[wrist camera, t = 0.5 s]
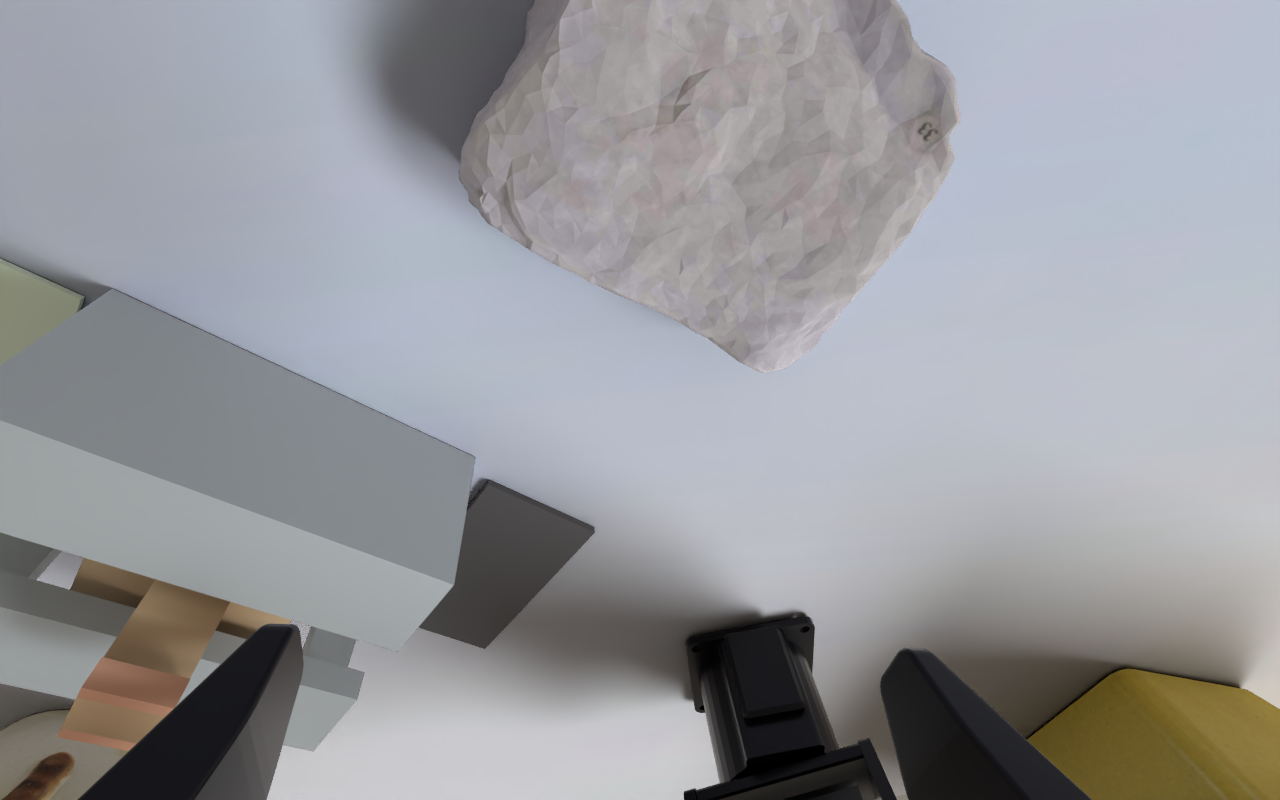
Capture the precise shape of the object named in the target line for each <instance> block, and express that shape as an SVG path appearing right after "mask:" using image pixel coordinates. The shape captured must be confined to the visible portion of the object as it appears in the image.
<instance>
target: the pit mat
mask: <svg viewBox="0 0 1280 800" xmlns="http://www.w3.org/2000/svg"><path fill="white" fill-rule="evenodd" d="M594 533H595V531H594V527H592V526H590V525H588V524H585V523H583V522H581V521H579V520H577V519H574V518H572V517H570V516H568V515H566V514H563V513H561V512H559V511H557V510H555V509H552V508H550V507H548V506H546V505H544V504H541V503H539V502H537V501H535V500H532V499H530V498H528V497H526V496H524V495H521V494H519V493H517V492H515V491H513V490H510V489H508V488H506V487H504V486H502V485H499V484H497V483H495V482H493V481H491V480H488V482H487V483H486V484H485V485H484V487H483V488H482V489H481V491H480V492H479V493H478V494H477V496H476V497H475V498H474V499H473V501H472V502H471V503H470V504H469V506H468V507H467V511H466V517H465V523H464V529H463V535H462V541H461V547H460V553H459V559H458V565H457V570H456V576H455V582H454V586H453V587H452V588H451V589H450V590H449V592H448V593H447V594H446V595H445V596H444V597H443V599H442V600H441V601H440V602H439V603H438V605H437V606H436V607H435V608H434V609H433V610H432V612H431V613H430V614H429V615H428V616H427V618H426V619H425V620H424V621H423V622H422V623H421V625H420V626H419V628H422V629H425V630H428V631H431V632H435V633H438V634H441V635H444V636H447V637H450V638H453V639H456V640H459V641H462V642H466V643H469V644H472V645H475V646H478V647H481V648H484V649H485V648H486V647H487V646H488V645H489V644H490V643H491V642H492V641H493V640H494V639H495V638H496V636H497V635H498V634H499V633H500V632H501V631H502V630H503V629H504V628H505V627H506V626H507V625H508V624H509V623H510V622H511V621H512V620H513V618H514V617H515V616H516V615H517V614H518V613H519V612H520V611H521V610H522V609H523V608H524V607H525V606H526V605H527V604H528V603H529V602H530V600H531V599H532V598H533V597H534V596H535V595H536V594H537V593H538V592H539V591H540V590H541V589H542V588H543V587H544V586H545V585H546V584H547V582H548V581H549V580H550V579H551V578H552V577H553V576H554V575H555V574H556V573H557V572H558V571H559V570H560V569H561V568H562V567H563V566H564V565H565V563H566V562H567V561H568V560H569V559H570V558H571V557H572V556H573V555H574V554H575V553H576V552H577V551H578V550H579V549H580V548H581V547H582V545H583V544H584V543H585V542H586V541H587V540H588V539H589V538H590V537H591V536H592V535H593V534H594Z"/></svg>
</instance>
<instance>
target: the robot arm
mask: <svg viewBox="0 0 1280 800" xmlns="http://www.w3.org/2000/svg"><path fill="white" fill-rule="evenodd" d="M814 630H815V627H814V624H813V622H812V619H811V618H810V617H806V616H805V617H798V618H792V619H786V620H781V621H775V622H770V623H764V624H759V625H753V626H748V627H742V628H737V629H731V630H725V631H720V632H714V633H709V634H703V635H698V636H693V637H690V638H689V639H687V641H686V643H685V645H686V652H687V658H688V665H689V672H690V679H691V686H692V693H693V700H694V706H695V710H696V711H697V712H699V713H706V718H707V723H708V728H709V732H710V737H711V742H712V747H713V752H714V757H715V761H716V766H717V771H718V776H719V781H720V784H716V785H713V786H709V787H706V788H702V789H699V790H696V789H695V788H694V789H691V790H687V791H684V800H897V799H896V797H895V795H894V792H893V790H892V788H891V786H890V783H889V781H888V779H887V777H886V774H885V772H884V770H883V768H882V765H881V763H880V761H879V759H878V757H877V754H876V752H875V750H874V748H873V745H872V743H871V741H870V739H869V738H866V739H863V740H860V741H858V744H854V745H851V746H847V747H844V748H840V749H839V746H838V743H837V741H836V738H835V735H834V732H833V730H832V727H831V724H830V722H829V719H828V716H827V714H826V711H825V708H824V706H823V703H822V700H821V698H820V695H819V692H818V689H817V687H816V684H815V681H814V679H813V676H812V666H813V648H814ZM303 667H304V660H303V652H302V645H301V637H300V631H299V628H298V627H297V626H296V625H294V624H272V623H270V624H265V625H263V626H261V627H260V628H259V629H257V630H256V631H255V632H254V633H253V634H252V635H251V636H250V637H249V638H248V639H247V640H246V641H245V642H244V643H243V644H241V645H240V646H239V647H238V648H237V649H236V650H235V651H234V652H233V653H232V654H231V655H230V656H229V657H228V658H227V659H226V660H225V661H224V662H222V663H221V664H220V665H219V666H218V667H217V668H216V669H215V670H214V671H213V672H212V673H211V674H210V675H209V676H208V677H207V678H206V679H204V680H203V681H202V682H201V683H200V684H199V685H198V686H197V687H196V688H195V689H194V690H193V691H192V692H191V693H190V694H189V695H188V696H186V697H185V698H184V699H183V700H182V701H181V702H180V703H179V704H178V705H177V706H176V707H175V708H174V709H173V710H172V711H171V712H170V713H168V714H167V715H166V716H165V717H164V718H163V719H162V720H161V721H160V722H159V723H158V724H157V725H156V726H155V727H154V728H153V729H152V730H150V731H149V732H148V733H147V734H146V735H145V736H144V737H143V738H142V739H141V740H140V741H139V742H138V743H137V744H136V745H135V746H134V747H132V748H131V749H130V750H129V751H128V752H127V753H126V754H125V755H124V756H123V757H122V758H121V759H120V760H119V761H118V762H117V763H116V764H114V765H113V766H112V767H111V768H110V769H109V770H108V771H107V772H106V773H105V774H104V775H103V776H102V777H101V778H100V779H99V780H98V781H96V782H95V783H94V784H93V785H92V786H91V787H90V788H89V789H88V790H87V791H86V792H85V793H84V794H83V795H82V796H81V797H80V798H78V799H77V800H266V799H267V796H268V793H269V789H270V786H271V783H272V780H273V776H274V773H275V769H276V766H277V762H278V759H279V756H280V752H281V749H282V745H283V742H284V738H285V735H286V731H287V728H288V724H289V721H290V717H291V714H292V710H293V707H294V703H295V700H296V696H297V693H298V689H299V686H300V682H301V679H302V674H303ZM880 688H881V695H882V699H883V703H884V707H885V711H886V715H887V719H888V723H889V727H890V731H891V735H892V739H893V743H894V747H895V751H896V755H897V759H898V763H899V767H900V772H901V775H902V779H903V783H904V786H905V790H906V793H907V796H908V799H909V800H1092V799H1091V798H1090V797H1089V796H1088V795H1087V794H1085V793H1084V792H1083V791H1082V790H1081V789H1080V788H1079V787H1078V786H1077V785H1076V784H1075V783H1073V782H1072V781H1071V780H1070V779H1069V778H1068V777H1067V776H1066V775H1065V774H1064V773H1063V772H1061V771H1060V770H1059V769H1058V768H1057V767H1056V766H1055V765H1054V764H1053V763H1052V762H1051V761H1049V760H1048V759H1047V758H1046V757H1045V756H1044V755H1043V754H1042V753H1041V752H1040V751H1039V750H1037V749H1036V748H1035V747H1034V746H1033V745H1032V744H1031V743H1030V742H1029V741H1028V740H1027V739H1025V738H1024V737H1023V736H1022V735H1021V734H1020V733H1019V732H1018V731H1017V730H1016V729H1015V728H1013V727H1012V726H1011V725H1010V724H1009V723H1008V722H1007V721H1006V720H1005V719H1004V718H1003V717H1001V716H1000V715H999V714H998V713H997V712H996V711H995V710H994V709H993V708H992V707H991V706H989V705H988V704H987V703H986V702H985V701H984V700H983V699H982V698H981V697H980V696H979V695H977V694H976V693H975V692H974V691H973V690H972V689H971V688H970V687H969V686H968V685H967V684H966V683H964V682H963V681H962V680H961V679H960V678H959V677H958V676H957V675H956V674H955V673H954V672H952V671H951V670H950V669H949V668H948V667H947V666H946V665H945V664H944V663H943V662H942V661H940V660H939V659H938V658H937V657H936V656H935V655H934V654H933V653H931V652H930V651H928V650H926V649H921V648H903V649H901V650H900V651H899V652H898V653H897V655H896V656H895V658H894V659H893V661H892V662H891V664H890V665H889V667H888V668H887V670H886V671H885V673H884V674H883V676H882V679H881V684H880Z"/></svg>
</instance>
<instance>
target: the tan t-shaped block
mask: <svg viewBox="0 0 1280 800" xmlns="http://www.w3.org/2000/svg"><path fill="white" fill-rule="evenodd" d="M70 590H72V591H76V592H79V593H83V594H86V595H90V596H93V597H97V598H101V599H104V600H108V601H111V602H115V603H118V604H122V605H126V606H129V607H133V608H136V609H135V611H134V612H133V614H132V615H131V617H130V618H129V620H128V621H127V623H126V624H125V626H124V627H123V629H122V630H121V632H120V633H119V635H118V636H117V638H116V639H115V641H114V642H113V644H112V645H111V647H110V648H109V650H108V651H107V653H106V654H105V656H104V657H102V658H101V659H100V661H99V662H98V664H97V665H96V667H95V668H94V670H93V671H92V672H91V674H90V675H89V677H88V678H87V680H86V681H85V683H84V684H83V686H82V687H81V689H80V691H79V693H78V695H77V697H76V699H75V701H74V703H73V705H72V707H71V709H70V711H69V713H68V715H67V717H66V719H65V721H64V723H63V725H62V727H61V729H60V731H59V733H58V735H57V737H59V738H64V739H69V740H74V741H79V742H84V743H90V744H95V745H100V746H105V747H110V748H115V749H121V750H126V751H129V750H130V749H131V748H132V747H134V746H135V745H136V744H137V743H138V742H139V741H140V740H141V739H142V738H143V737H144V736H145V735H146V734H147V733H148V732H149V731H150V730H152V729H153V728H154V727H155V726H156V725H157V724H158V723H159V722H160V721H161V720H162V719H163V718H164V717H165V716H166V715H167V714H168V713H170V712H171V711H172V710H173V709H174V708H175V707H176V706H177V704H178V702H179V700H180V698H181V696H182V694H183V693H184V691H185V689H186V687H187V685H188V683H189V681H190V678H191V676H192V674H193V672H194V670H195V668H196V666H197V664H198V662H199V660H200V659H201V657H202V655H203V653H204V651H205V649H206V647H207V645H208V643H209V641H210V640H211V638H212V636H213V634H214V632H215V631H218V632H222V633H226V634H229V635H233V636H236V637H240V638H244V639H248V638H249V637H250V636H251V635H252V634H253V633H254V632H255V631H256V630H257V629H259V628H260V627H261V626H263V625H265V624H270V623H272V624H289V623H290V622H291V621H292V620H289V619H286V618H283V617H280V616H276V615H273V614H270V613H266V612H263V611H260V610H256V609H253V608H250V607H246V606H243V605H240V604H236V603H233V602H230V601H226V600H223V599H220V598H216V597H213V596H210V595H206V594H203V593H200V592H196V591H193V590H190V589H186V588H183V587H180V586H177V585H173V584H170V583H167V582H163V581H160V580H157V579H153V578H150V577H147V576H143V575H140V574H137V573H133V572H130V571H127V570H123V569H120V568H117V567H113V566H110V565H107V564H103V563H100V562H97V561H93V560H90V559H87V558H84V559H83V561H82V564H81V566H80V568H79V571H78V573H77V575H76V578H75V580H74V582H73V584H72V587H71V589H70Z"/></svg>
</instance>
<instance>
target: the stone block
mask: <svg viewBox="0 0 1280 800" xmlns="http://www.w3.org/2000/svg"><path fill="white" fill-rule="evenodd" d="M959 123H960V110H959V106H958V102H957V93H956V83H955V78H954V76H953V75H952V73H951V72H950V70H949V68H948V67H947V66H946V65H945V64H943V63H942V62H940V61H939V60H937V59H935V58H934V57H932V56H931V55H929V54H927V53H925V52H924V51H923V50H922V49H920V48H919V46H918V45H917V43H916V42H915V40H914V39H913V37H912V34H911V29H910V25H909V21H908V18H907V16H906V15H905V13H904V12H903V10H902V8H901V7H900V5H899V4H898V3H897V1H896V0H534V2H533V6H532V8H531V9H530V10H529V11H528V13H527V18H526V33H525V40H524V44H523V46H522V48H521V50H520V52H519V54H518V55H517V57H516V58H515V60H514V61H513V63H512V64H511V66H510V67H509V69H508V70H507V72H506V74H505V76H504V79H503V82H502V84H501V85H500V87H499V88H498V89H496V90H495V91H494V92H493V94H492V96H491V97H490V99H489V101H488V103H487V105H485V106H484V107H483V108H482V109H481V110H480V111H479V112H478V113H477V114H476V117H475V119H474V121H473V124H472V126H471V129H470V132H469V135H468V136H467V138H466V140H465V143H464V145H463V147H462V149H461V165H460V169H459V179H460V181H461V183H462V184H463V186H464V188H465V189H466V191H467V192H468V194H469V202H470V203H471V204H472V205H473V206H474V207H476V208H477V209H478V210H479V212H480V214H481V215H482V217H483V218H484V219H485V220H486V222H487V223H488V224H490V225H491V226H493V227H495V228H497V229H498V230H500V231H501V232H503V233H504V234H506V235H508V236H510V237H511V238H513V239H515V240H516V241H518V242H519V243H520V244H522V245H523V246H525V247H526V248H528V249H530V250H531V251H533V252H534V253H536V254H538V255H539V256H541V257H543V258H544V259H546V260H548V261H550V262H552V263H554V264H556V265H558V266H560V267H562V268H564V269H566V270H568V271H570V272H573V273H575V274H577V275H579V276H581V277H582V278H584V279H586V280H588V281H589V282H591V283H593V284H595V285H598V286H600V287H602V288H604V289H606V290H608V291H610V292H613V293H615V294H617V295H619V296H621V297H624V298H626V299H629V300H632V301H634V302H637V303H640V304H643V305H645V306H647V307H650V308H652V309H654V310H657V311H659V312H661V313H663V314H665V315H667V316H669V317H671V318H673V319H675V320H677V321H679V322H681V323H682V324H684V325H685V326H687V327H688V328H690V329H691V330H692V331H694V332H695V333H697V334H700V335H702V336H704V337H706V338H708V339H709V340H711V341H712V342H713V343H715V344H716V345H717V346H719V347H720V348H721V349H723V350H724V351H725V352H727V353H728V354H729V355H731V356H732V357H733V358H735V359H736V360H737V361H738V362H740V363H743V364H745V365H747V366H749V367H751V368H753V369H755V370H757V371H759V372H761V373H763V372H770V371H777V370H781V369H784V368H786V367H787V366H789V365H790V364H792V363H793V362H794V361H796V360H797V359H798V358H799V357H801V356H802V355H803V354H805V353H807V352H809V351H810V350H811V349H812V348H813V347H814V346H815V345H816V344H817V343H818V341H819V339H820V337H821V336H822V335H823V334H824V333H825V332H826V331H827V330H828V329H829V328H830V327H831V326H832V325H833V324H834V322H835V321H836V319H837V318H838V316H839V314H840V313H841V311H842V310H843V309H844V308H845V307H846V306H847V305H848V304H849V303H850V302H851V301H852V300H853V298H854V297H855V296H856V295H857V294H858V292H859V291H860V290H861V289H862V288H863V287H864V286H865V284H866V283H867V282H868V281H869V280H870V279H871V278H872V276H873V275H874V274H875V273H876V271H877V270H878V269H879V268H880V267H881V266H882V265H883V264H884V263H885V262H886V261H887V260H888V259H889V257H890V256H891V255H892V254H893V253H894V252H895V251H896V250H897V249H898V247H899V246H900V245H901V243H902V242H903V241H904V240H905V238H906V237H907V236H908V234H909V233H910V232H911V230H912V229H913V227H914V226H915V224H916V223H917V221H918V220H919V218H920V217H921V215H922V213H923V212H924V210H925V209H926V207H927V206H928V205H929V203H930V202H931V201H932V200H933V198H934V197H935V195H936V193H937V192H938V190H939V188H940V186H941V184H942V183H943V181H944V179H945V178H946V176H947V174H948V173H949V170H950V168H951V166H952V164H953V161H954V156H953V152H952V148H951V144H950V140H949V136H950V135H951V134H952V132H953V131H954V130H955V128H956V127H957V126H958V124H959Z"/></svg>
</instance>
